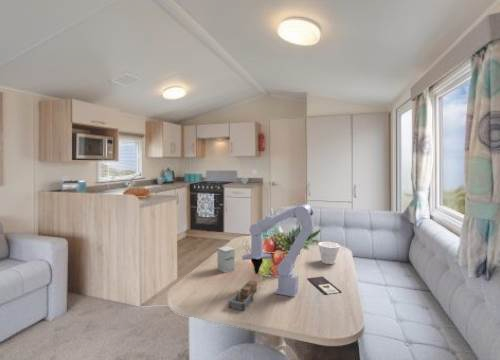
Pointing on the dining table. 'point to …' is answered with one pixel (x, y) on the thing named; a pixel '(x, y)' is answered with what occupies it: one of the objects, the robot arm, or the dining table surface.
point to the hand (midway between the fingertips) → (256, 272)
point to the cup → (328, 252)
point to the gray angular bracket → (239, 305)
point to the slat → (248, 289)
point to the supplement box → (226, 259)
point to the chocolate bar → (324, 285)
